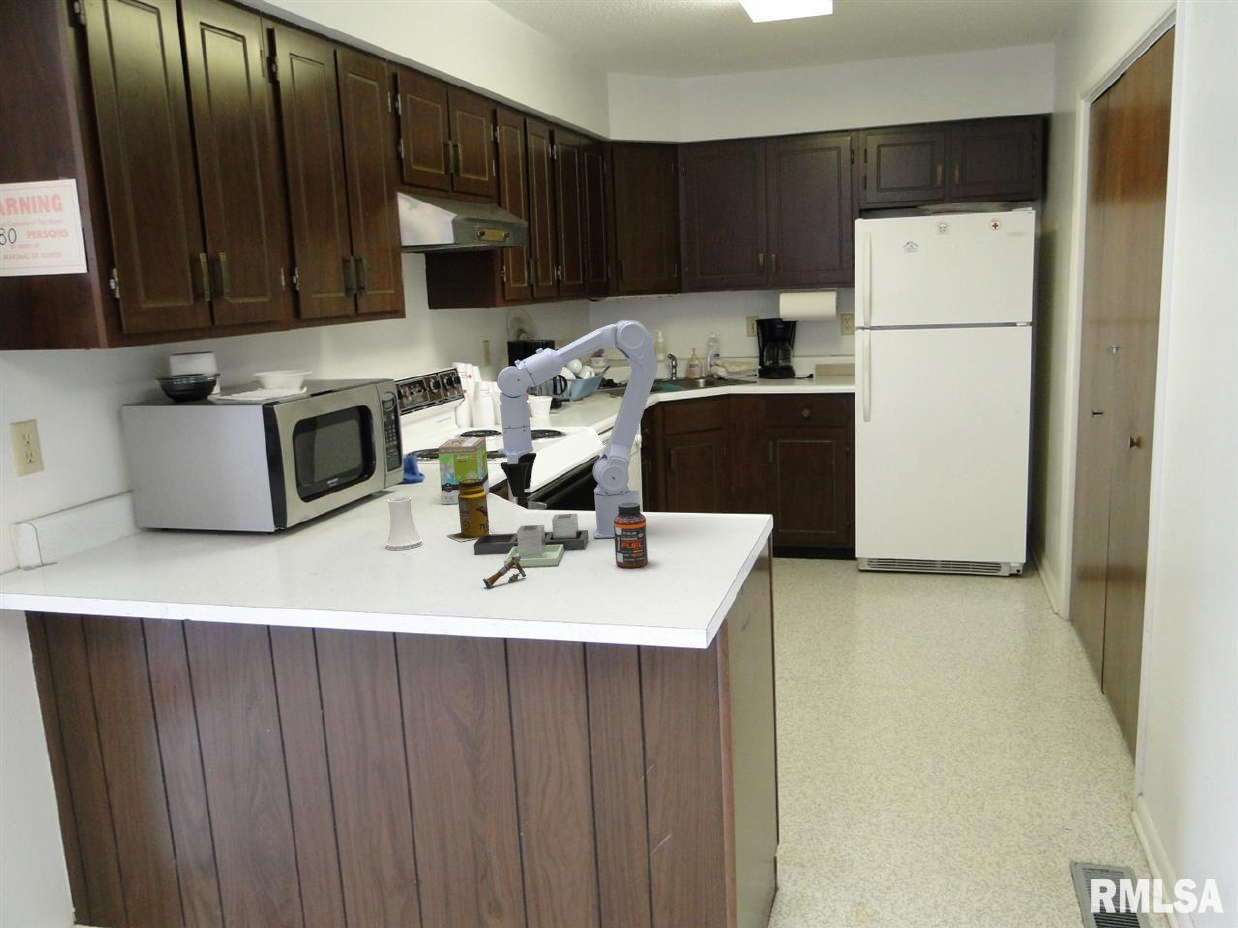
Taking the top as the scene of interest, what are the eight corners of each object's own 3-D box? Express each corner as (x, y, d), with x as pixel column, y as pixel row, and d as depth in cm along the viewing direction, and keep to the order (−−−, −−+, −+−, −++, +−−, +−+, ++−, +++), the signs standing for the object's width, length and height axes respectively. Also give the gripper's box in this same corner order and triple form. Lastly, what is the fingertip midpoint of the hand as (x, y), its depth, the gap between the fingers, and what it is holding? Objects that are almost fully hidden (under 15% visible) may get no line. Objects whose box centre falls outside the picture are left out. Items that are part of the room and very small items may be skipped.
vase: (430, 542, 208) (425, 496, 206) (404, 551, 202) (399, 504, 200) (404, 539, 212) (399, 494, 211) (378, 548, 206) (373, 501, 204)
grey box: (546, 554, 191) (544, 523, 190) (543, 561, 187) (540, 529, 186) (523, 555, 191) (520, 524, 190) (519, 562, 187) (516, 530, 186)
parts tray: (563, 551, 194) (563, 544, 193) (557, 566, 184) (556, 558, 184) (513, 554, 194) (512, 546, 194) (504, 568, 185) (503, 560, 184)
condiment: (497, 535, 211) (492, 480, 209) (460, 542, 207) (455, 486, 205) (482, 529, 217) (477, 475, 215) (446, 536, 213) (441, 482, 211)
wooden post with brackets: (531, 573, 177) (521, 553, 175) (498, 600, 173) (487, 580, 172) (526, 571, 179) (515, 551, 177) (492, 598, 175) (481, 578, 173)
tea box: (482, 503, 245) (476, 444, 243) (441, 505, 246) (436, 446, 243) (490, 491, 260) (485, 435, 258) (452, 493, 261) (447, 437, 258)
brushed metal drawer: (579, 542, 201) (577, 512, 200) (576, 548, 196) (574, 517, 195) (557, 543, 201) (555, 513, 200) (554, 549, 196) (552, 518, 195)
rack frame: (588, 539, 202) (588, 529, 202) (584, 549, 194) (584, 539, 194) (482, 544, 204) (481, 534, 203) (474, 554, 196) (473, 544, 196)
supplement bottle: (621, 570, 178) (617, 509, 176) (612, 562, 184) (608, 503, 182) (652, 566, 180) (649, 505, 178) (643, 558, 185) (639, 499, 183)
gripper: (503, 422, 206) (508, 486, 209) (489, 432, 192) (495, 501, 195) (536, 420, 206) (541, 484, 208) (525, 431, 192) (531, 499, 194)
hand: (521, 492), depth 201 cm, fingers open, 7 cm apart
